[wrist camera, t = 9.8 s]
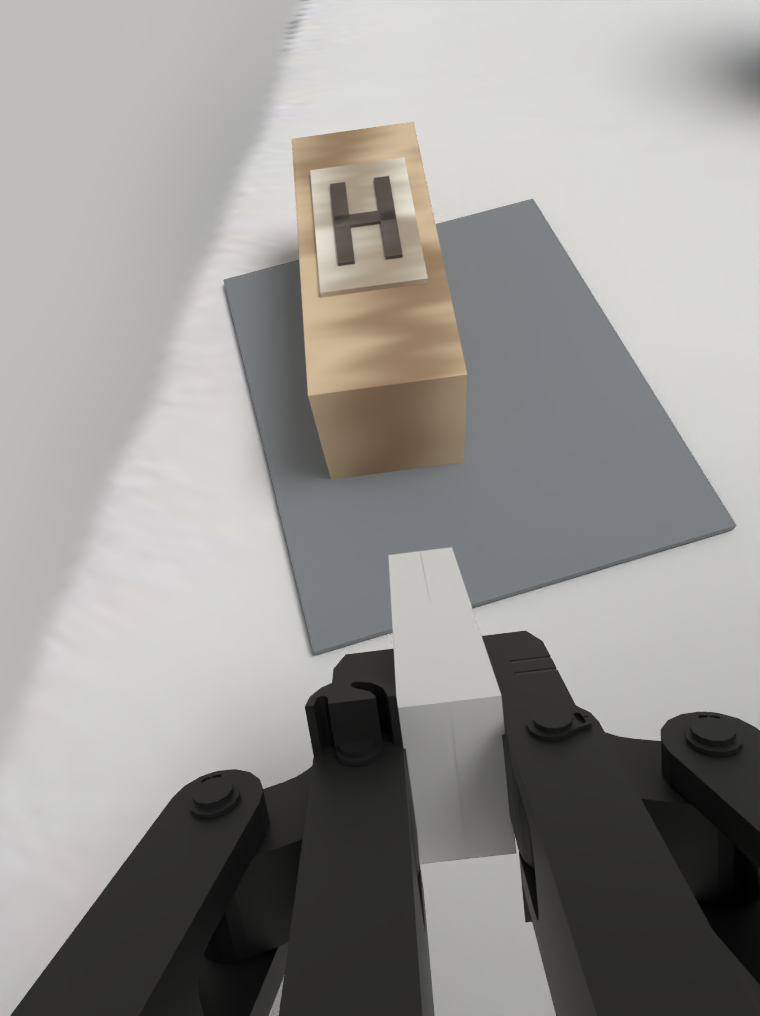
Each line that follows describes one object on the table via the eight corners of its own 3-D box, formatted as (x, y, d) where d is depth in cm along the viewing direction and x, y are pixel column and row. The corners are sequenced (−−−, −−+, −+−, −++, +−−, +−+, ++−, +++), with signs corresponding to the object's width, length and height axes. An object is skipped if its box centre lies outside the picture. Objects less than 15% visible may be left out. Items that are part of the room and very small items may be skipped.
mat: (532, 204, 40) (532, 198, 39) (732, 529, 29) (736, 525, 28) (225, 285, 38) (223, 279, 38) (314, 655, 28) (313, 652, 27)
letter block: (463, 462, 31) (417, 225, 39) (467, 367, 25) (413, 113, 33) (330, 479, 31) (312, 240, 39) (306, 388, 26) (290, 131, 33)
